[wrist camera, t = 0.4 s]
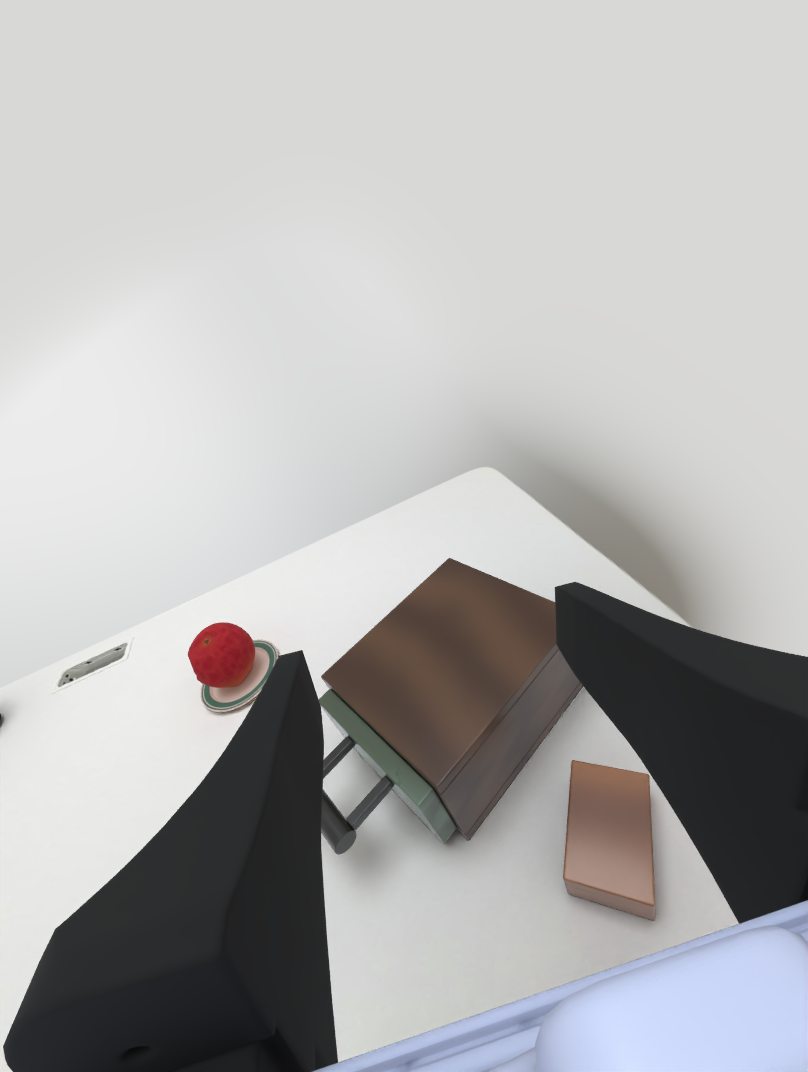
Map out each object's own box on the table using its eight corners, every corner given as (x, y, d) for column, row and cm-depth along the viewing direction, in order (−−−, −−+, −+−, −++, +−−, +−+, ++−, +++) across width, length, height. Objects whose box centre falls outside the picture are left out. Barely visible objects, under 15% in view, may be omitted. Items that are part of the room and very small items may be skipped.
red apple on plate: (249, 721, 39) (207, 677, 35) (187, 707, 43) (144, 666, 39) (294, 646, 45) (263, 602, 41) (237, 640, 48) (202, 598, 45)
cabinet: (468, 841, 27) (437, 788, 23) (357, 729, 35) (320, 676, 31) (589, 678, 32) (580, 612, 28) (468, 615, 41) (449, 557, 37)
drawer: (390, 917, 24) (353, 885, 21) (298, 789, 32) (262, 752, 29) (562, 690, 31) (553, 642, 28) (454, 628, 39) (438, 585, 36)
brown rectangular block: (655, 921, 22) (655, 907, 20) (567, 894, 24) (562, 879, 22) (649, 793, 26) (649, 773, 25) (575, 778, 28) (571, 759, 26)
